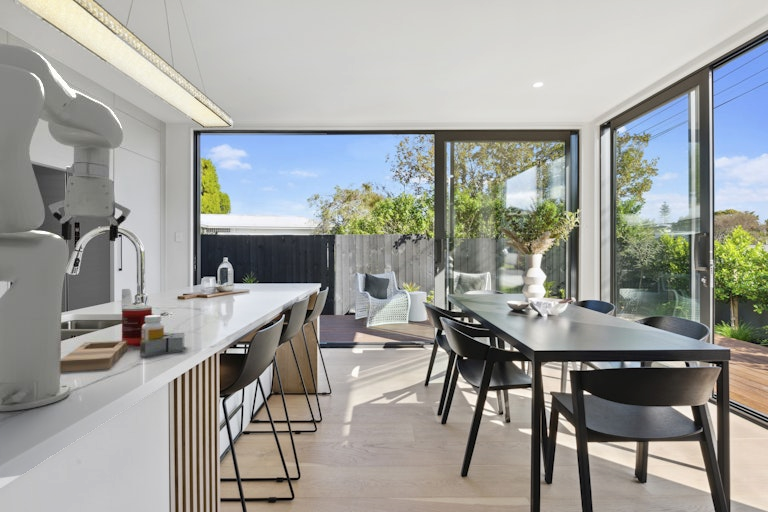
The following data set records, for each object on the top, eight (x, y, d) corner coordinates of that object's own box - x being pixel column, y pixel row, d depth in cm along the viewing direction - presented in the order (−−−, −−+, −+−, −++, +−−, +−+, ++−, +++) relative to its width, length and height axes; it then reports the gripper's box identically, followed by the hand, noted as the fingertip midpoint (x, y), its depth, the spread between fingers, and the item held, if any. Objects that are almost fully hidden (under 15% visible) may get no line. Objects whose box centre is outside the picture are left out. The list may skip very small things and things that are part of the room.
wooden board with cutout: (109, 368, 100) (109, 358, 100) (58, 372, 96) (58, 361, 96) (127, 349, 118) (127, 340, 118) (85, 351, 115) (85, 342, 115)
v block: (139, 357, 110) (139, 342, 110) (148, 344, 124) (149, 331, 124) (180, 355, 113) (181, 340, 113) (185, 343, 128) (185, 329, 128)
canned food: (148, 339, 131) (149, 304, 131) (153, 344, 125) (154, 307, 125) (119, 342, 126) (120, 306, 126) (123, 347, 120) (124, 309, 120)
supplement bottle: (167, 348, 120) (168, 315, 120) (155, 353, 115) (156, 318, 115) (149, 347, 121) (150, 314, 120) (136, 352, 115) (137, 317, 115)
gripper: (44, 167, 100) (42, 239, 100) (127, 173, 106) (126, 241, 107) (55, 172, 107) (54, 239, 107) (133, 178, 113) (132, 241, 114)
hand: (90, 240), depth 107 cm, fingers open, 9 cm apart
